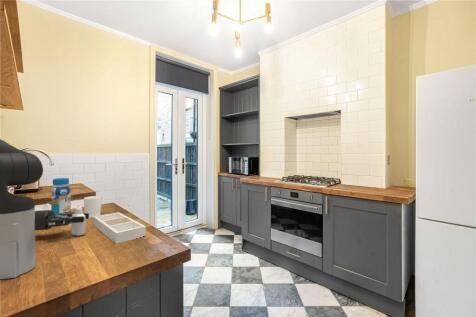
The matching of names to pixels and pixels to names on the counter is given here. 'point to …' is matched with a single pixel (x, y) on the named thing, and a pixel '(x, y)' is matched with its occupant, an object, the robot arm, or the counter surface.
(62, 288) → the counter surface
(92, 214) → the white cup
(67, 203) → the beverage bottle
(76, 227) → the eye dropper bottle
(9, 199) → the robot arm
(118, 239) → the rack
